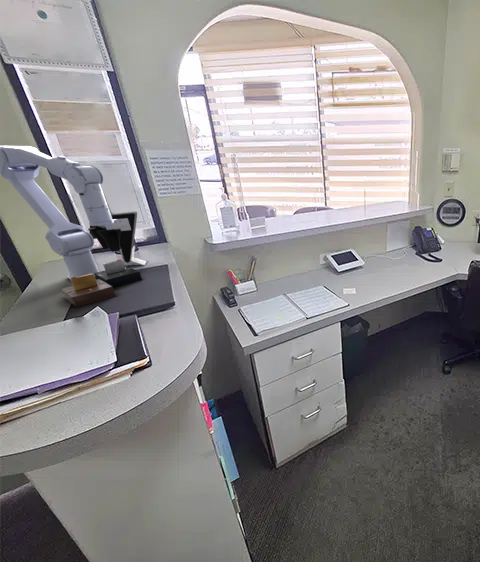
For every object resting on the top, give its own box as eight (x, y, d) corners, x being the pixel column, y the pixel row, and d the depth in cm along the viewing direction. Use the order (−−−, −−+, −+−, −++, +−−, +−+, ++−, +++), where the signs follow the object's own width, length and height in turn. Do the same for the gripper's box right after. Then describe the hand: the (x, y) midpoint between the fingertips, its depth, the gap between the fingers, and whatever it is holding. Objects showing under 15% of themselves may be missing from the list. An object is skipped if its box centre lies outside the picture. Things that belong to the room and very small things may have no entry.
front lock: (96, 284, 92) (91, 272, 91) (97, 284, 92) (93, 273, 90) (74, 289, 88) (69, 277, 87) (75, 290, 88) (70, 278, 86)
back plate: (96, 281, 103) (93, 272, 102) (128, 273, 110) (125, 264, 109) (109, 288, 97) (105, 279, 96) (142, 279, 104) (139, 270, 103)
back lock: (107, 274, 100) (103, 263, 99) (106, 273, 101) (102, 263, 100) (126, 270, 104) (122, 259, 103) (124, 269, 105) (121, 258, 103)
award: (101, 271, 113) (69, 186, 102) (105, 267, 118) (74, 185, 107) (150, 264, 120) (124, 183, 109) (152, 260, 124) (128, 182, 113)
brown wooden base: (64, 298, 91) (59, 288, 90) (102, 287, 98) (99, 278, 97) (75, 307, 84) (71, 297, 83) (116, 295, 91) (112, 285, 90)
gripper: (120, 206, 95) (134, 249, 100) (104, 204, 103) (118, 244, 108) (91, 210, 90) (107, 254, 95) (76, 207, 98) (92, 249, 103)
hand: (111, 249), depth 101 cm, fingers open, 7 cm apart
